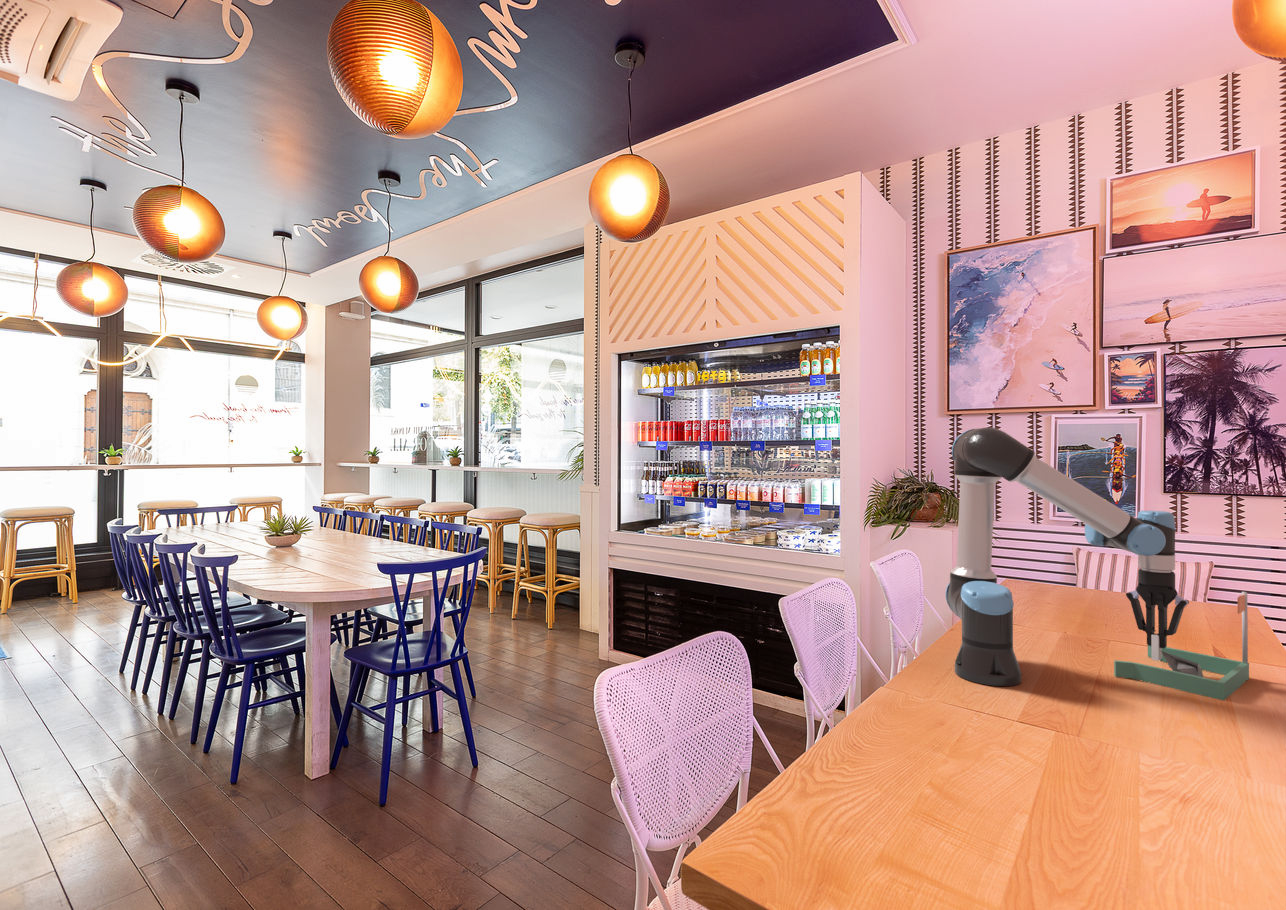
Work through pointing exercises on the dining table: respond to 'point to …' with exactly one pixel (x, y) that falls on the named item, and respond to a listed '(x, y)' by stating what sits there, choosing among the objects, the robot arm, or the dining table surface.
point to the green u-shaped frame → (1203, 686)
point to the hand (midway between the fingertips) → (1156, 659)
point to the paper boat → (1182, 665)
